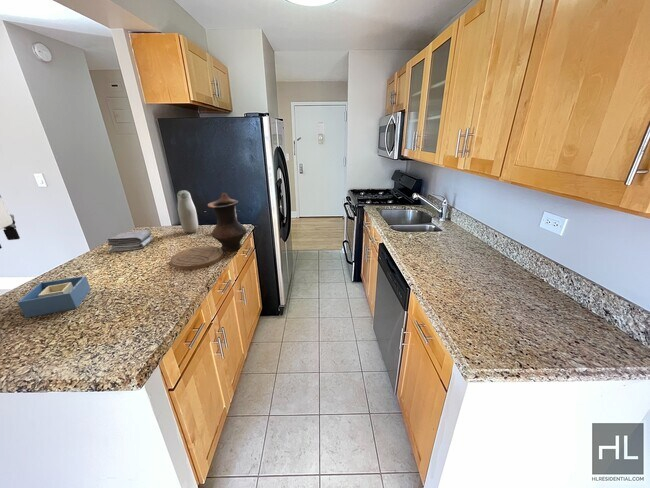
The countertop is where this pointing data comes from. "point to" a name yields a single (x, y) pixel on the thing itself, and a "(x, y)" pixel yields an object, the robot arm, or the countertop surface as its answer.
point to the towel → (129, 241)
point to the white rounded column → (187, 212)
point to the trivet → (196, 257)
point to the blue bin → (54, 297)
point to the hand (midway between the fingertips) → (5, 244)
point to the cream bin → (56, 290)
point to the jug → (227, 223)
